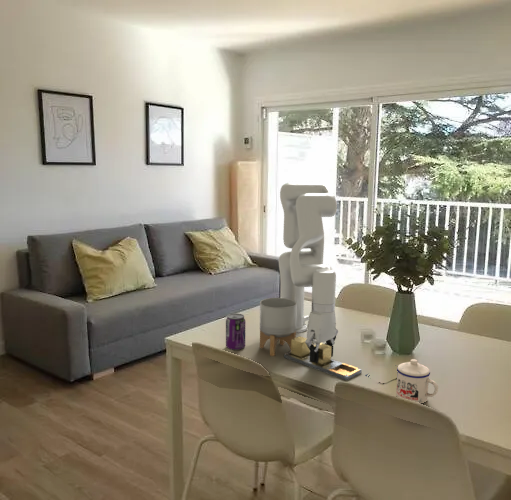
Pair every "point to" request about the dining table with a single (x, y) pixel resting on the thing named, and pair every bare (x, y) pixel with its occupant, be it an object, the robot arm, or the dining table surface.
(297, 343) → the brass block
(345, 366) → the gray slotted tray
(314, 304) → the robot arm
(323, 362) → the brass block
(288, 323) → the planter
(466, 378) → the dining table surface
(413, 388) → the teacup with lid
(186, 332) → the dining table surface
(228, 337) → the beverage can
